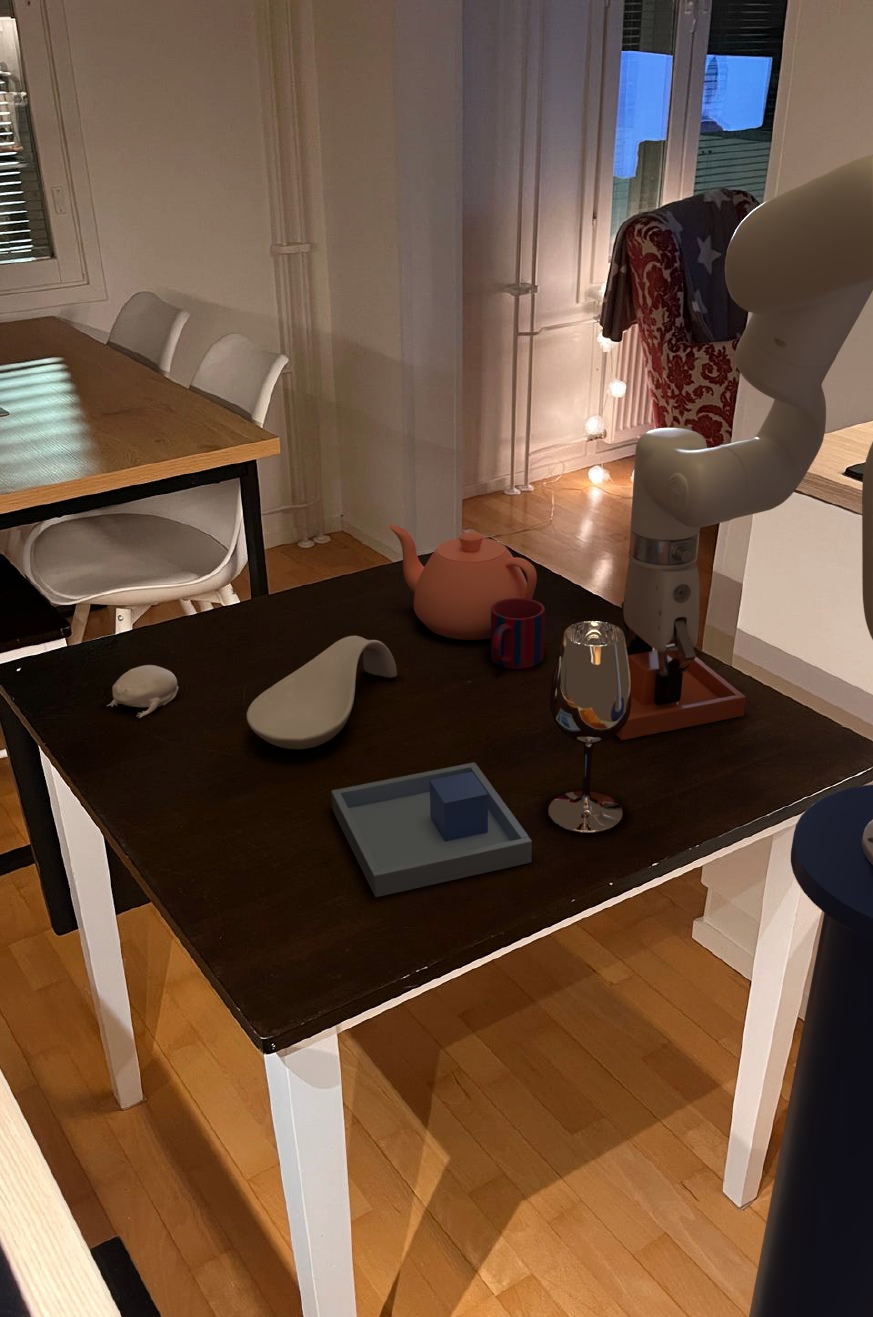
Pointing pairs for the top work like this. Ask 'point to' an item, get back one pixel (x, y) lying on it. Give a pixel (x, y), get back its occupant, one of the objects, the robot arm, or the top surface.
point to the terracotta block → (644, 675)
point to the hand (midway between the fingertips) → (652, 687)
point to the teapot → (463, 583)
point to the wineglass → (590, 714)
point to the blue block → (458, 806)
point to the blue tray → (422, 833)
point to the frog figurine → (145, 688)
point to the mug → (517, 633)
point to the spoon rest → (317, 695)
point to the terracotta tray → (687, 704)
